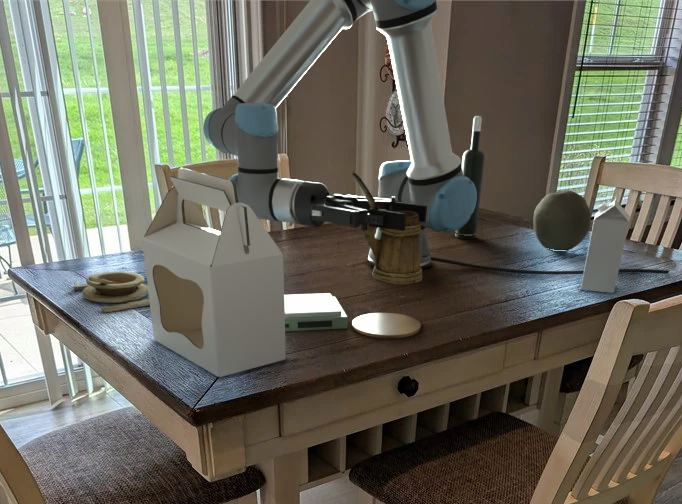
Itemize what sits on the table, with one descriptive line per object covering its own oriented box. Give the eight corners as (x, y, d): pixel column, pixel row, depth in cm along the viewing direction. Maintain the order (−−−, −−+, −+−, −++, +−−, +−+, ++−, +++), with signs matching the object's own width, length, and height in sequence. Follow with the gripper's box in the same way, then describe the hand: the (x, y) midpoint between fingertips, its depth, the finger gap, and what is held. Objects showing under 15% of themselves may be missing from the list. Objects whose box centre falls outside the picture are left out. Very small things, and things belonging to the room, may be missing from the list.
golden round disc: (410, 314, 144) (410, 311, 144) (429, 336, 133) (429, 333, 133) (345, 317, 142) (345, 314, 141) (360, 340, 131) (360, 336, 131)
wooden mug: (344, 272, 135) (347, 167, 125) (415, 270, 137) (422, 167, 127) (353, 286, 128) (356, 176, 118) (427, 284, 130) (437, 175, 120)
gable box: (153, 339, 129) (131, 168, 114) (217, 325, 136) (205, 162, 121) (219, 379, 115) (205, 188, 100) (287, 360, 122) (283, 180, 107)
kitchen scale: (334, 307, 147) (334, 292, 145) (347, 328, 136) (348, 313, 134) (265, 310, 145) (265, 295, 143) (273, 332, 134) (272, 316, 132)
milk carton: (614, 285, 164) (634, 196, 154) (613, 294, 159) (633, 201, 149) (582, 282, 166) (599, 193, 156) (580, 290, 161) (597, 198, 151)
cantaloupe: (533, 244, 198) (542, 184, 190) (586, 249, 193) (598, 189, 185) (524, 255, 186) (533, 193, 178) (581, 261, 182) (593, 198, 174)
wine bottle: (450, 236, 203) (462, 115, 187) (463, 233, 207) (476, 115, 191) (466, 240, 200) (479, 117, 184) (479, 237, 203) (493, 116, 187)
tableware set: (101, 313, 140) (96, 282, 137) (69, 288, 154) (64, 260, 151) (238, 291, 155) (236, 262, 152) (198, 270, 169) (196, 243, 165)
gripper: (330, 215, 144) (437, 230, 135) (271, 234, 128) (387, 252, 119) (331, 174, 140) (440, 186, 131) (270, 188, 124) (390, 203, 115)
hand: (415, 217), depth 125 cm, fingers closed on wooden mug, 8 cm apart
